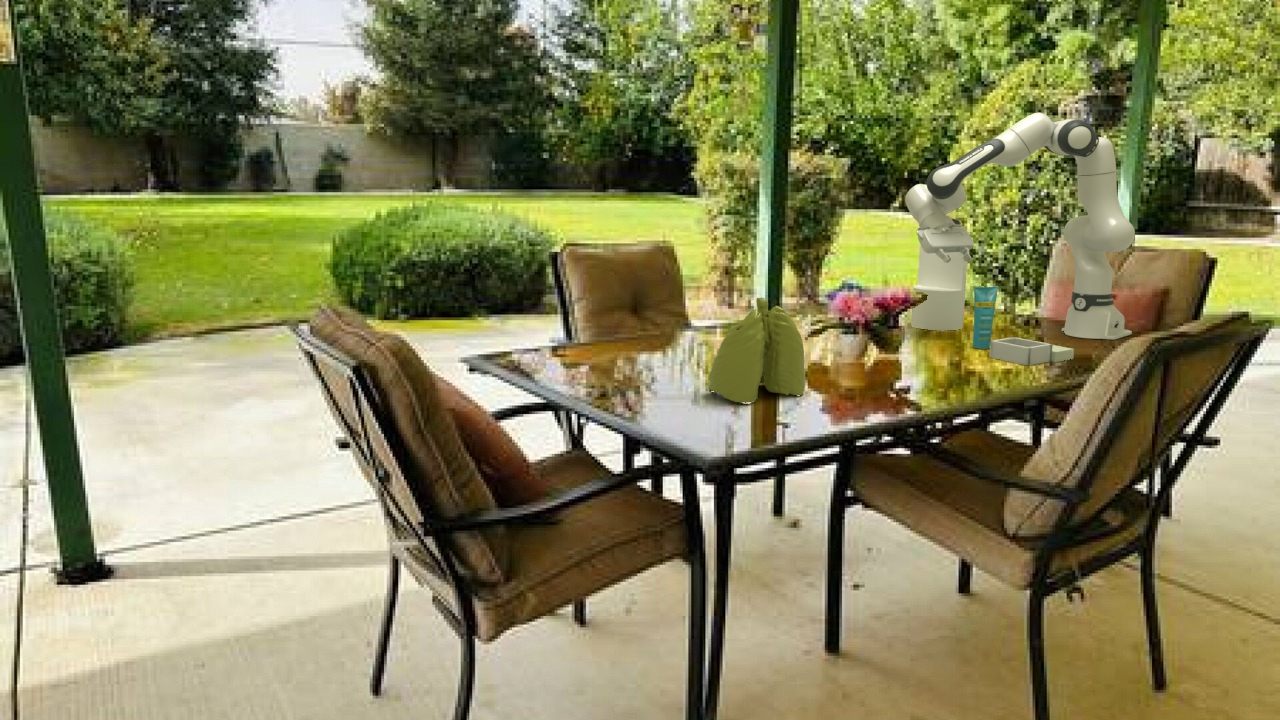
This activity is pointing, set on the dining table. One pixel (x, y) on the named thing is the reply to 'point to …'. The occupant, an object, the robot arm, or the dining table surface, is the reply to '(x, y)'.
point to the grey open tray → (1028, 351)
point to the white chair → (940, 292)
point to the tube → (983, 315)
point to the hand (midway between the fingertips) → (958, 260)
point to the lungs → (760, 356)
